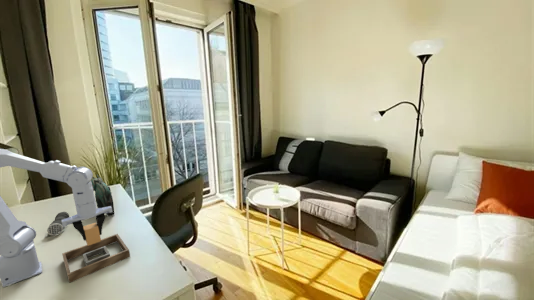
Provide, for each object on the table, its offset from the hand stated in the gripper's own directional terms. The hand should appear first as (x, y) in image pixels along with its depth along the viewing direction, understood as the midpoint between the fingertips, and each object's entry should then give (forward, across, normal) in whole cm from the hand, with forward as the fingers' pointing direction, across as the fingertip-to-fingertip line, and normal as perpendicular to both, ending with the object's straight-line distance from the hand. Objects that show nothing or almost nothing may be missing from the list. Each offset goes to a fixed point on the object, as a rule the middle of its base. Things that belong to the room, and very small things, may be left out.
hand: (92, 236), depth 89 cm
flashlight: (+10, +7, -41) cm, 43 cm away
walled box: (+9, 0, 0) cm, 9 cm away
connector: (+2, 0, 0) cm, 2 cm away
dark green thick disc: (+9, -12, -45) cm, 48 cm away
